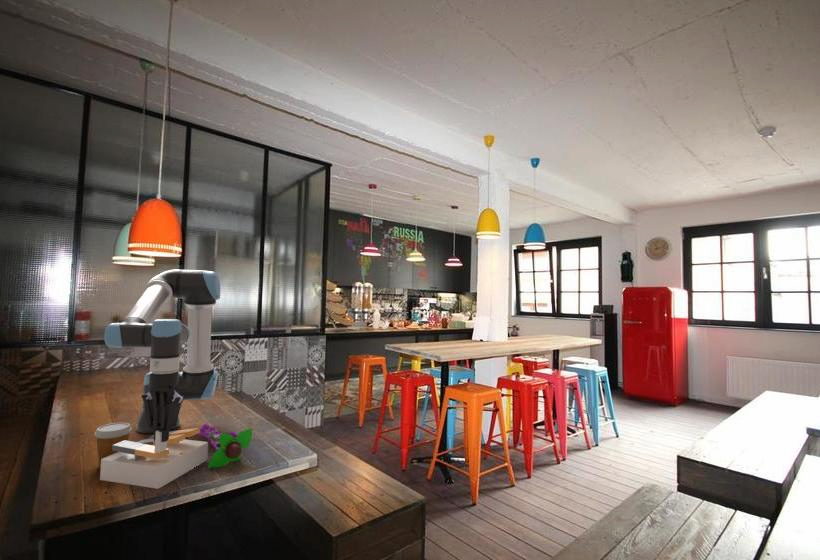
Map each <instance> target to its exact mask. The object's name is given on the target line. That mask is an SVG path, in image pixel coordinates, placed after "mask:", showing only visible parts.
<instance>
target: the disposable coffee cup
mask: <svg viewBox="0 0 820 560" xmlns="http://www.w3.org/2000/svg"><path fill="white" fill-rule="evenodd" d="M132 429H133V427H131V424H130V422H129V423H128V422H113V423H108V424H103V425H101V426H99V427H97V428H96V430H95V432H94V436H95V437H96V448H97V458H98V468H99V469H101V459H103V458H105V457H108V456H110V455H113V454H115V453H117V452H118V451H112V446H113V445H114V444H116V443H119V442H121V441H124V440H126V441H129V438H130V433H131V431H132Z"/></svg>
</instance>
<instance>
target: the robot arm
mask: <svg viewBox="0 0 820 560" xmlns="http://www.w3.org/2000/svg"><path fill="white" fill-rule="evenodd" d="M220 283H221V281H220V278H219V274H217V273H216V272H215V271H212V270H211V271H210V270H205V269H204V270H199V269H177V268H176V269H169V270H166V271H163V272H161V273H160V274H157V275H155V276H154V277H152V278H151V279H149V281H148V282H147V283H146V284H145V286H144V288H143V293H142V295H141V296H140V297H139V298H138V300H137V301H136V303H135V304H134V305H133V307H132V308H131V309H130V311H129V313H127V315H126V316H125V318H124V319H123V320H122V321H121V322H114V323H113V322H112V323H109V324H108V325H107V326H106V328H105V331H104V336H103V337H104V338H103V339H104V343H105V345H106V346H107V347H109V348H120V349H125V348H126V349H127V348H150V356H149V359H150V360H149V372H147V373H146V374H145V375H144V378H143V384H142V385H143V387H142V388H143V390H142V391H143V392H142V395H141V399H142V406H141V407H142V409H141V412H140V414H139V418H138V421H137V422H136V424H135V431H136V432H137V433H142V434H153V435H154V441H155V452H157V453H160V452H162V451H164V450H166V449H167V441H168V439H169V432H170V431H173V430H174V429H176V428H178V427H180V423H181V418H180V416H179V414H180V411H181V408H182V403H183V402H184V401H202V400H209V399H212V397H214V394H215V390H216V387H217V383H218V376H219V371H218V370H215V365H214V364H212V363H211V348H212V347H211V345H212V344H211V340H212V308H213V307H214V306H215V305H216V304H217V301H218V300H220V298H221V284H220ZM171 299H182V300H183V303H184V305H185V306H186V307H187V325H186V324H184V323H182V321H181V320H180V319H175V318H159V319H155V318H156V317H157V315H158V314H159V313H160V311H161V309H162V307H163V306H164V304H166V303H168V301H170V300H171ZM186 343H187V349H186V364H185V366H183V368H182V371H179V370H180V359H181V358H180V355H181V346H184V345H185V344H186Z"/></svg>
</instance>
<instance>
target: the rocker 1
mask: <svg viewBox="0 0 820 560" xmlns="http://www.w3.org/2000/svg"><path fill="white" fill-rule="evenodd" d="M136 442H137V441H136ZM136 442H135V441H130V440H128V441H126V440H124V441H121V442H119V443H116V444H114V445H113V446H112V451H118V452H123V453H128V454H133V455H138V456H143V457H148V458H153V459H160V458H162V457H164V456H166V455H168V454H169V449H168V448H167V449H166V450H164V451H162V452H160V453H157V452H155V446H152V445H147V444H142V443H136Z"/></svg>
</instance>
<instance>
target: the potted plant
mask: <svg viewBox="0 0 820 560" xmlns="http://www.w3.org/2000/svg"><path fill="white" fill-rule="evenodd" d="M198 436H203V437H204V438H206V439H207V440H209V441H210V442H211V444H210V445H212V446H213V447H214V451H215V452H214V453H213V455H212V456H211V459H210V461H209V463H208V469H212V468H211V467H214V468H219V467H224V466H226V465H227V464H228V465H229V462H237V461H240V460H241V459H242V458H241V457H242V453H243V450H246V449H247V448H249V447H250V444H251V442H252V436H253V429H252V428H248V429H245V430H242V431H240V432H239V433H238V434H236V433H235V432H234V431H230V432H224V433H223V432H222V433H221V431H220V430H219V431H218V429H217V428H215V427H214V426H210V425H209V424H207V423H205V424H202V427H201V428H200V433H198ZM216 440H218V441H216ZM219 444H220V446H221V447H219V446H217V445H219Z"/></svg>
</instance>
